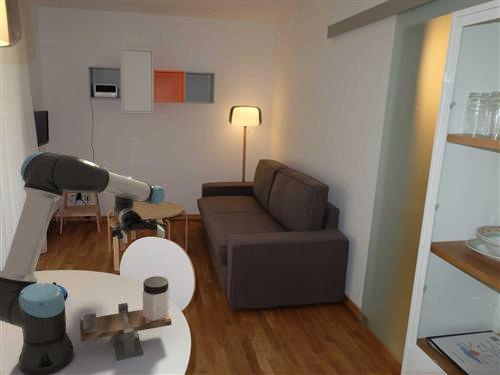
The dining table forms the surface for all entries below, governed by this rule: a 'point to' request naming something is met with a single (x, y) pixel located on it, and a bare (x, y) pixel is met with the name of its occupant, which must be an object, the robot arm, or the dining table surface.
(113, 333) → the beam
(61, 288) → the ornament
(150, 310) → the jar
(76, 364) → the dining table surface
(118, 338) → the pivot stand
